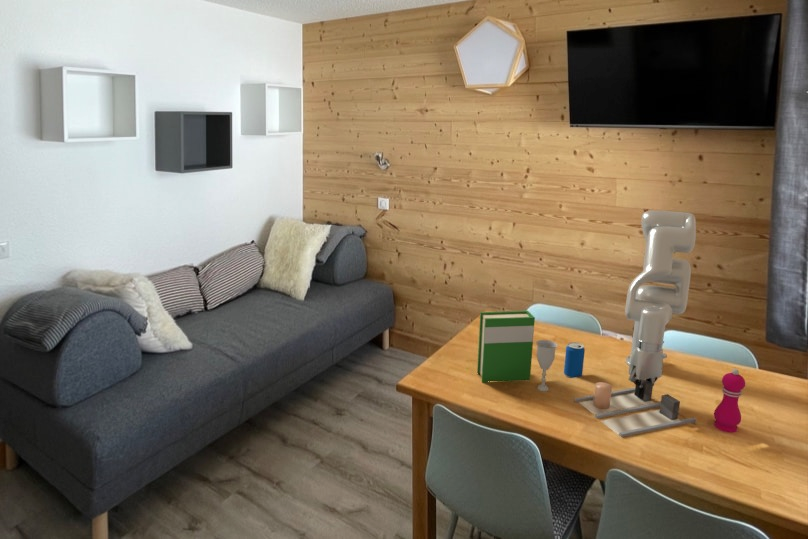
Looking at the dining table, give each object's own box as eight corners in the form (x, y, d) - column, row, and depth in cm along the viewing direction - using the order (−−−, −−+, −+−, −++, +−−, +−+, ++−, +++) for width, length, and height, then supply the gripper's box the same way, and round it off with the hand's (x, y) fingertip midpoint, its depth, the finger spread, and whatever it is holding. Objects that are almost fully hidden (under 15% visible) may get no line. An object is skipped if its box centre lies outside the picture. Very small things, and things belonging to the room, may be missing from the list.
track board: (640, 391, 192) (641, 385, 192) (696, 426, 170) (697, 419, 170) (572, 403, 183) (573, 397, 183) (622, 442, 162) (623, 435, 161)
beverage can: (582, 380, 200) (586, 349, 197) (564, 378, 201) (567, 347, 198) (580, 372, 206) (584, 342, 203) (563, 371, 208) (565, 341, 205)
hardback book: (482, 382, 198) (485, 319, 192) (477, 373, 205) (480, 312, 199) (529, 380, 200) (534, 317, 194) (523, 371, 207) (527, 310, 201)
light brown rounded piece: (602, 400, 183) (605, 381, 181) (612, 407, 178) (615, 388, 176) (590, 402, 181) (592, 383, 179) (600, 410, 177) (602, 390, 175)
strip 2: (662, 410, 178) (664, 391, 176) (681, 423, 171) (684, 403, 169) (600, 422, 170) (602, 403, 169) (617, 436, 163) (620, 416, 161)
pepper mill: (713, 420, 174) (723, 362, 169) (739, 428, 170) (750, 368, 165) (710, 430, 168) (720, 370, 163) (737, 438, 164) (749, 376, 159)
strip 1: (637, 393, 189) (639, 375, 188) (654, 404, 182) (657, 386, 180) (578, 404, 182) (579, 385, 180) (593, 415, 174) (595, 396, 173)
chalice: (529, 387, 194) (533, 339, 190) (548, 387, 195) (552, 339, 190) (536, 397, 187) (540, 348, 182) (555, 397, 188) (560, 347, 183)
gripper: (660, 338, 186) (653, 387, 191) (621, 343, 181) (615, 394, 186) (678, 346, 179) (670, 397, 184) (637, 352, 174) (630, 405, 179)
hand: (642, 395), depth 185 cm, fingers closed on strip 1, 2 cm apart
